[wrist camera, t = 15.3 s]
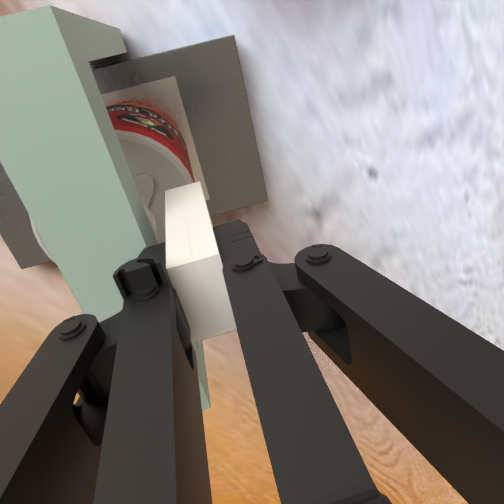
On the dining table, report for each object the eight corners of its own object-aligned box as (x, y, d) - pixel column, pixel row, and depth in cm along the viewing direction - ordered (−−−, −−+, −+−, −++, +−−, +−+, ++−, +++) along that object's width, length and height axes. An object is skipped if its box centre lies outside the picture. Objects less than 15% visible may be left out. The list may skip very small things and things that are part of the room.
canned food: (203, 127, 28) (224, 170, 18) (165, 224, 31) (166, 304, 21) (93, 79, 25) (51, 100, 16) (62, 189, 28) (9, 264, 19)
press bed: (29, 257, 32) (20, 270, 30) (-59, 106, 26) (-76, 111, 24) (262, 192, 34) (268, 201, 32) (229, 35, 28) (234, 34, 26)
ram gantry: (154, 245, 34) (146, 428, 18) (74, 40, 26) (-70, 33, 10) (188, 235, 34) (210, 407, 18) (119, 29, 26) (49, 5, 10)
